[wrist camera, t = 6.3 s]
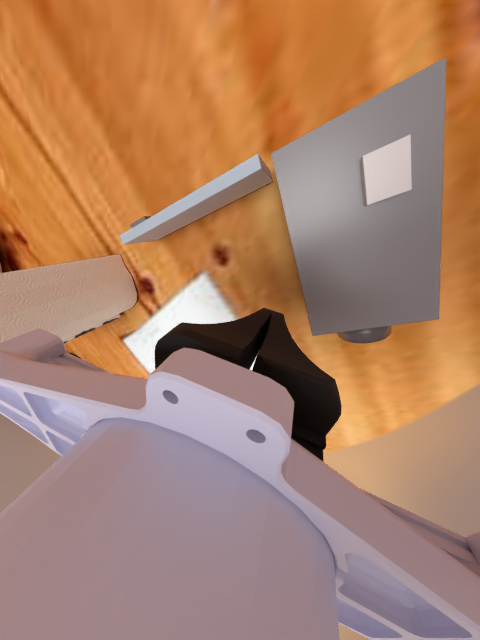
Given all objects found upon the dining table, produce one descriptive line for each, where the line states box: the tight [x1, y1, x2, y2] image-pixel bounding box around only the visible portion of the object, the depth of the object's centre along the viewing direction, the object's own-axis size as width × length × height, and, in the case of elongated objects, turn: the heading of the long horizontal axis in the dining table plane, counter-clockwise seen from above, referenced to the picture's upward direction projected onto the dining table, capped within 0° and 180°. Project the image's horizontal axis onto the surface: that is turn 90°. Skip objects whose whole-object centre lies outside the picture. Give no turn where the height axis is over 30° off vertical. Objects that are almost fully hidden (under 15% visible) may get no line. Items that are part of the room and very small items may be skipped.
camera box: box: [271, 57, 446, 343], centre depth 14 cm, size 8×15×6 cm, turn 19°
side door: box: [119, 154, 273, 244], centre depth 17 cm, size 2×14×4 cm, turn 110°
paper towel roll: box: [0, 254, 137, 343], centre depth 18 cm, size 7×6×21 cm
